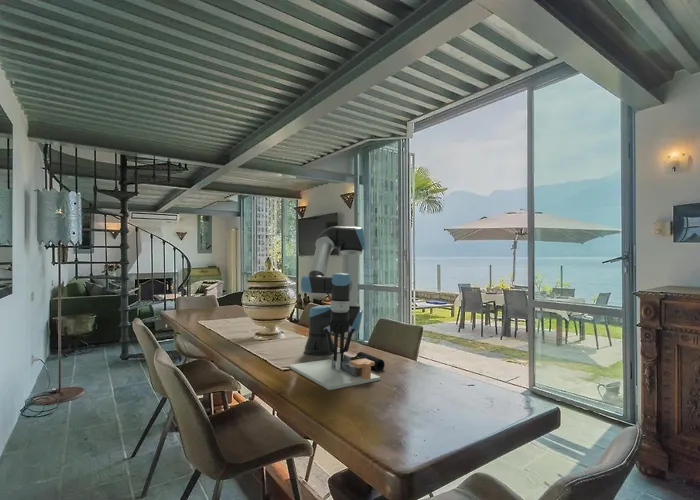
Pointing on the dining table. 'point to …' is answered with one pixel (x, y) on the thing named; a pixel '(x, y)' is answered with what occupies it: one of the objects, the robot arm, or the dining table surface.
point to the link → (348, 366)
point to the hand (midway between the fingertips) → (337, 368)
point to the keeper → (363, 366)
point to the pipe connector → (378, 362)
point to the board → (329, 374)
